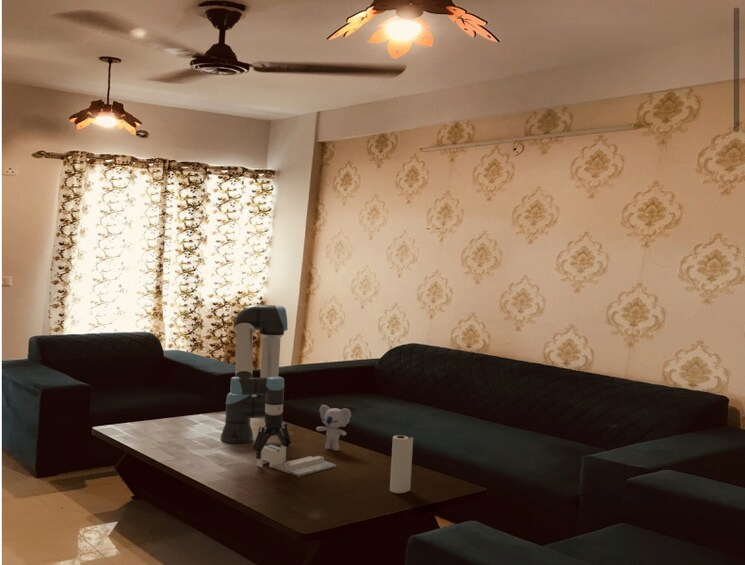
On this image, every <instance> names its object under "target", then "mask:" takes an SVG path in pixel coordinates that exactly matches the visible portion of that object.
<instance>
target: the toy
mask: <svg viewBox="0 0 745 565" xmlns="http://www.w3.org/2000/svg"><path fill="white" fill-rule="evenodd" d="M319 414H320V418H321V422H322V423H323V424H324V426H317V427H316V428H315V430H316V431H317V432H324V431H325V432H326V433H325V437H326V438H325V439H326V442H325V445H324V448H325V449H326V450H330V449H332V450H333V451H336V452H337V451H339V450H340V444H339V439H340V437H341V436H343V437H344V436H346V435H347V432H346V431H345V430H344V429H341V427H343V428H344V427H346V426H347V424H349V423H350V420H351V419H350V418H351V417H352V412H351V410H350V409H349V408H345V407H344V408H341V409H340V408H336V407H335V408H331V407H329V406H328V405H326V404H321V406H320V407H319Z"/></svg>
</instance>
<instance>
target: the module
mask: <svg viewBox="0 0 745 565" xmlns="http://www.w3.org/2000/svg"><path fill="white" fill-rule="evenodd" d="M262 451H263V465H264V464H269V467H270V468H272V465H275V464H279V463H283V452H284V449H283V448H281V446H280V447H279V446H277V445H274V444H268V445H266V444H265V446H264V448H263V449H262Z"/></svg>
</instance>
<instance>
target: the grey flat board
mask: <svg viewBox="0 0 745 565" xmlns="http://www.w3.org/2000/svg"><path fill="white" fill-rule="evenodd" d="M336 467H337V464H336V463H332V462H329V461H326V460H325V457H324V456H321V455H316V456H311V455H309V456H305V457H301V458H297V459H292V460H287V461H285V462H283V463H279V464H275V465H272V467H271V468H273V469H276V470H278V471H281V472H284V473H285V474H286V473H287V474H290V475H292V476H295V477H303V476H305V475H310V474H314V473H318V472H321V471H325V470H329V469H333V468H336Z"/></svg>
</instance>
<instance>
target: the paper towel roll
mask: <svg viewBox="0 0 745 565" xmlns="http://www.w3.org/2000/svg"><path fill="white" fill-rule="evenodd" d="M391 445H392V447H391V461H390V462H391V463H390V479H389V480H390V481H389V491H390V492H391V493H394V494H403V493H404V494H405V493H407V492H409V491H411V484H412V483H411V481H412V464H413V463H412V461H413V446H414V437H413V436H411V437H409V436H407V435H401V434H400V435H399V434H398V435H397V434H396V435H392V444H391Z"/></svg>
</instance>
